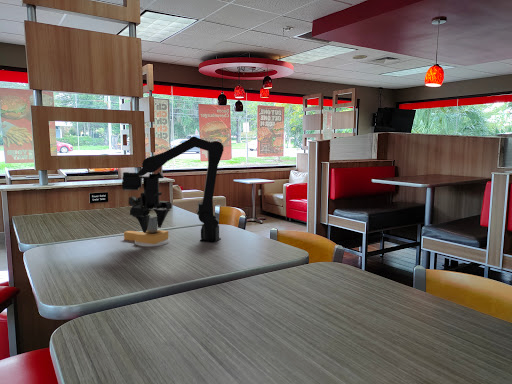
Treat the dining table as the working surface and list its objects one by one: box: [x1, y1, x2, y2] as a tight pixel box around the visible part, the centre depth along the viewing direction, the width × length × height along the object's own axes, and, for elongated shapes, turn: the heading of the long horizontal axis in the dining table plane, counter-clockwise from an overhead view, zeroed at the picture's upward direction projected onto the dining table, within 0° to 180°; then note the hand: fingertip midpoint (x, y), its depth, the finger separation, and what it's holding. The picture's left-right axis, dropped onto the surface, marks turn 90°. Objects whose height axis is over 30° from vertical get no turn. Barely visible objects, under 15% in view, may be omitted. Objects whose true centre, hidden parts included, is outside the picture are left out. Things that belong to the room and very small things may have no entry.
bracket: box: [123, 229, 170, 248], centre depth 146 cm, size 19×13×4 cm
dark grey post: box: [147, 215, 158, 234], centre depth 144 cm, size 3×2×9 cm
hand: (152, 229), depth 144 cm, fingers open, 9 cm apart
